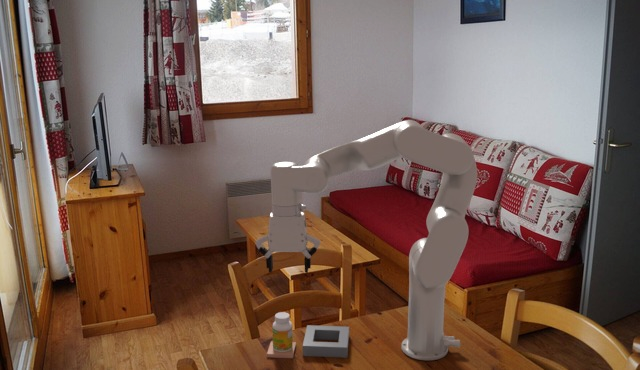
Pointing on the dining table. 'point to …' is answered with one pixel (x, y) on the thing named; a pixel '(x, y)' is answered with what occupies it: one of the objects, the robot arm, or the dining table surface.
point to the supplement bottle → (282, 332)
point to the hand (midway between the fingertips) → (288, 270)
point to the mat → (276, 354)
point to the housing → (326, 347)
